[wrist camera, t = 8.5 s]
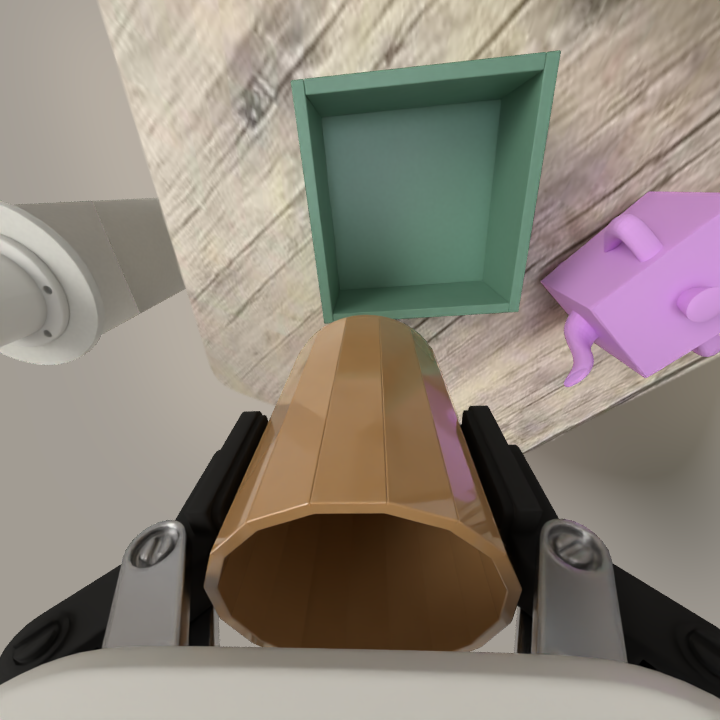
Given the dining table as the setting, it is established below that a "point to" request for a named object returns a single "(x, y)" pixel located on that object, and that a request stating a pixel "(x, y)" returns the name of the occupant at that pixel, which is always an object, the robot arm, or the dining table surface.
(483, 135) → the bin
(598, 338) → the teapot
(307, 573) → the paper cup
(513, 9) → the dining table surface
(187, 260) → the dining table surface
